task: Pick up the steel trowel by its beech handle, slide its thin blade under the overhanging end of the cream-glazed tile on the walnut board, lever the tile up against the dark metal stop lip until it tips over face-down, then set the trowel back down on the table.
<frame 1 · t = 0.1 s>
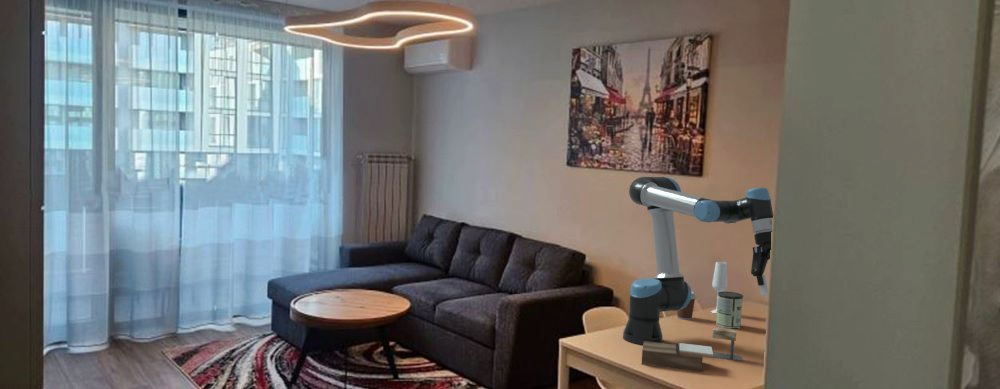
hand: (777, 293, 227), 28 cm above the table, tool tilted 20°, fingers open, 13 cm apart
flip board: (671, 362, 236), on the table
champagne flute: (717, 313, 316), on the table
coffee can: (728, 326, 293), on the table
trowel: (732, 357, 246), on the table
coffee cup: (684, 318, 303), on the table
tile: (695, 351, 234), point 5 cm above the table, touching flip board
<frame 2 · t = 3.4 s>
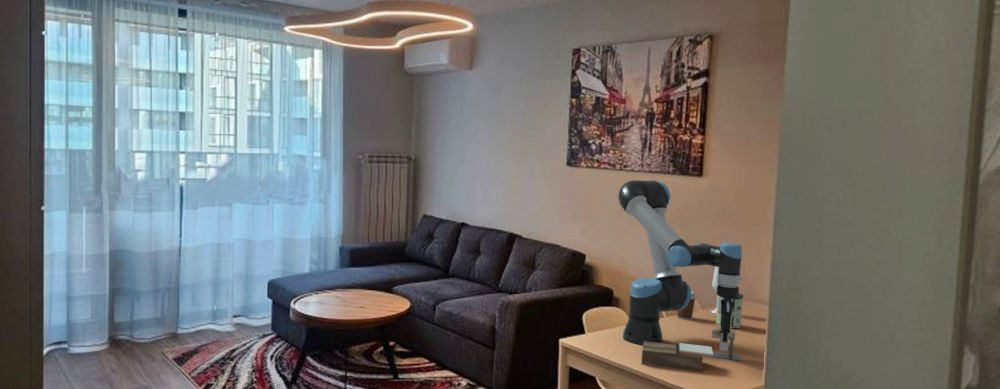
hand: (723, 348, 247), 3 cm above the table, tool pointing down, fingers closed on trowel, 3 cm apart
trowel: (731, 357, 246), on the table, touching gripper
everything else where it was.
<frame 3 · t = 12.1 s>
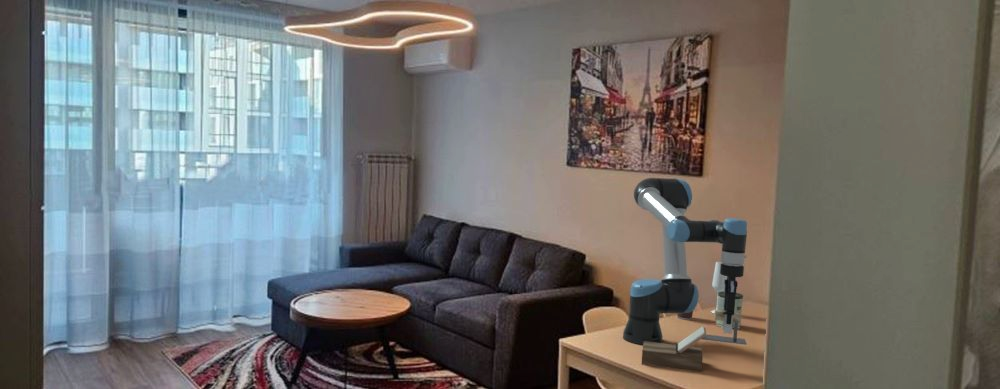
hand: (727, 331, 231), 13 cm above the table, tool pointing down, fingers closed on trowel, 3 cm apart
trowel: (736, 341, 230), point 10 cm above the table, touching gripper, tile
tile: (692, 340, 234), point 9 cm above the table, tilted 42°, touching flip board, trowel
everything else where it was.
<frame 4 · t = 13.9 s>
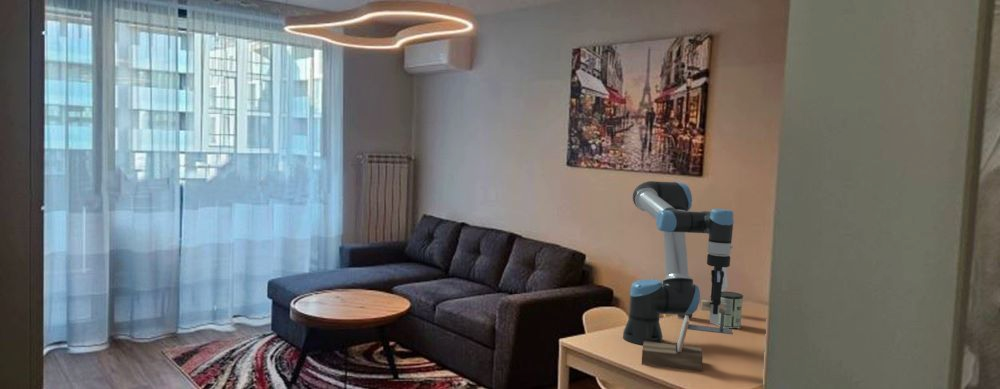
hand: (713, 321, 232), 16 cm above the table, tool pointing down, fingers closed on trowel, 3 cm apart
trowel: (722, 331, 231), point 13 cm above the table, touching gripper, tile
tile: (684, 333, 234), point 11 cm above the table, tilted 80°, touching flip board, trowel
everything else where it was.
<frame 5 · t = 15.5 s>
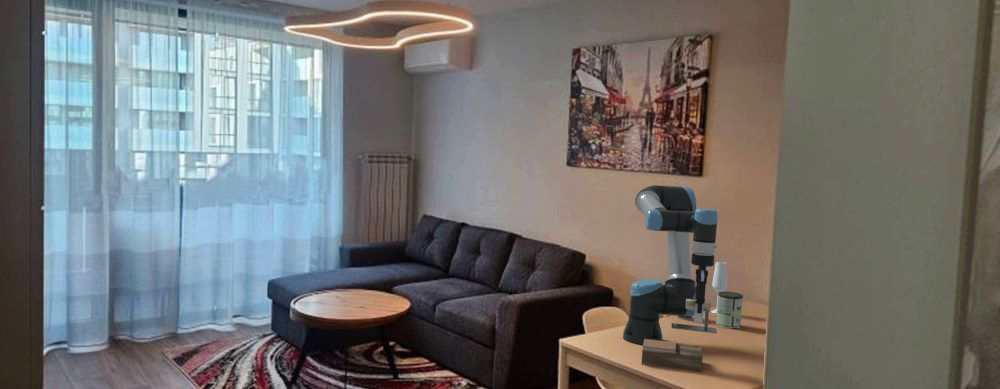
hand: (698, 320, 233), 16 cm above the table, tool pointing down, fingers closed on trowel, 3 cm apart
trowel: (707, 330, 232), point 13 cm above the table, touching gripper
tile: (659, 344, 236), point 6 cm above the table, tilted 180°, touching flip board
everything else where it was.
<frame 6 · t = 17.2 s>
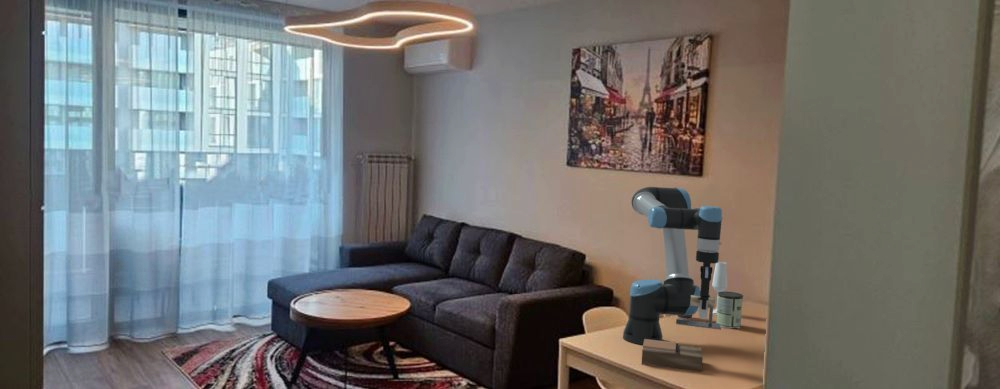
hand: (702, 316, 235), 17 cm above the table, tool pointing down, fingers closed on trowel, 3 cm apart
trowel: (711, 326, 235), point 14 cm above the table, touching gripper
everything else where it was.
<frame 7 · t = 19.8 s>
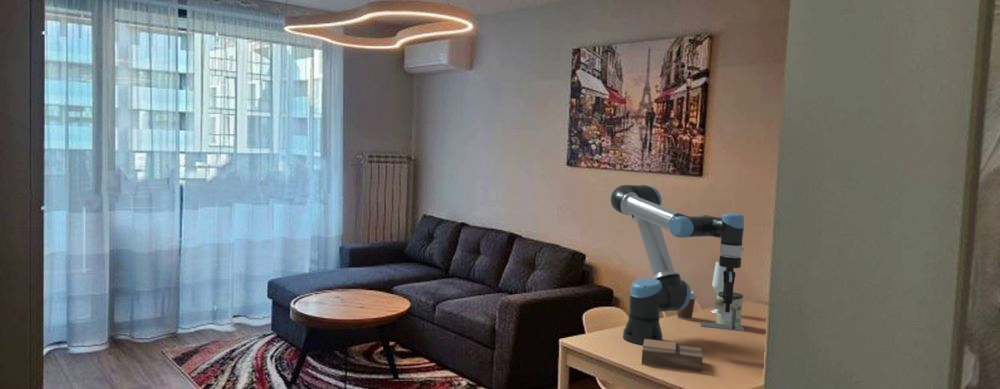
hand: (725, 319, 246), 14 cm above the table, tool pointing down, fingers closed on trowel, 3 cm apart
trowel: (734, 328, 245), point 11 cm above the table, touching gripper
everything else where it was.
when the fingers open (4 cm above the table, at t = 21.6 s): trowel drops 2 cm, on the table.
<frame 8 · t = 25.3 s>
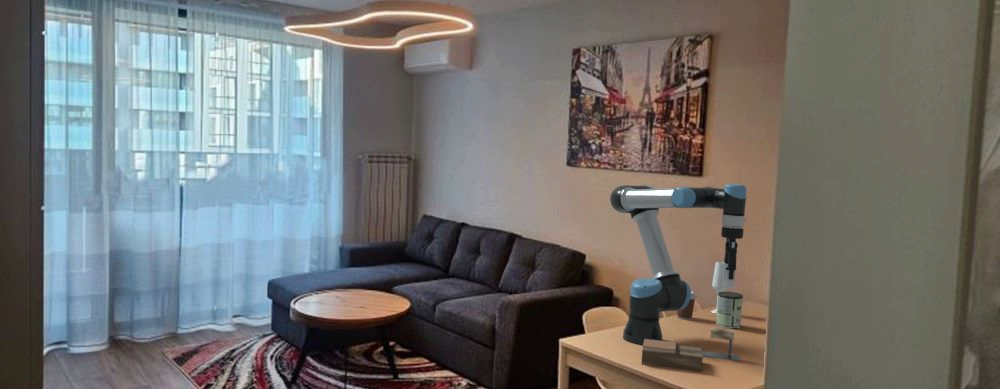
hand: (728, 284, 245), 27 cm above the table, tool pointing down, fingers open, 13 cm apart
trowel: (730, 357, 246), on the table
everything else where it was.
at the end: tile tilted 180°; tile inside the target area (1.4 cm from its centre), point 6.2 cm above the table; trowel inside the target area (0.8 cm from its centre), on the table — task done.
